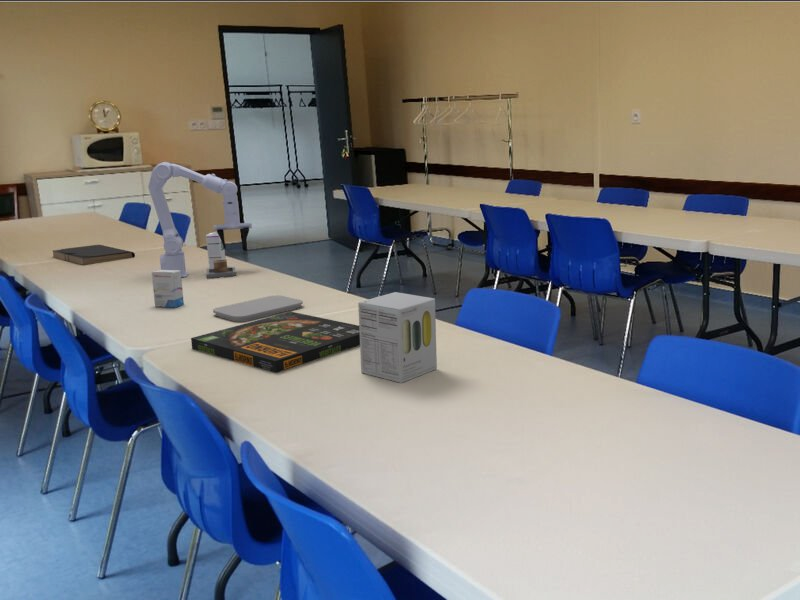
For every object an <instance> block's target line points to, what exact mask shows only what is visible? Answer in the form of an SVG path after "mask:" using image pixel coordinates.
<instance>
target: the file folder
mask: <svg viewBox="0 0 800 600" xmlns="http://www.w3.org/2000/svg"><path fill="white" fill-rule="evenodd" d="M52 254H53V256H52V257H53V259H54V258H55V259H58V260H62V261H65V262H68V263H75V264H78V265H82V266H87V265H89V266H90V265H95V264H100V263H101V264H102V263H109V262H113V261H114V262H115V261H120V260H126V259H132V258H135V256H136V255H135V252H134V251H130V250H125V249H120V248H117V247H112V246H107V245H104V244H92V245H85V246H77V247H76V246H75V247H68V248H61V249H54V250H52Z"/></svg>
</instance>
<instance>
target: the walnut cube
mask: <svg viewBox="0 0 800 600" xmlns="http://www.w3.org/2000/svg"><path fill="white" fill-rule="evenodd" d="M213 262H214V273H222V272H228V270H227V267H228V261H227V259H226V260H213Z"/></svg>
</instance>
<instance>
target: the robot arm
mask: <svg viewBox="0 0 800 600" xmlns="http://www.w3.org/2000/svg"><path fill="white" fill-rule="evenodd" d="M171 177H172V178H180V177H182V178H185V179H187V180H191V181H194V182H197V183H200V184H201V185H202V187H203V188H204V189H206V190H207V191H208V190H209V191H211V192H214V193H217V194H221V195H222V197H223V202H222V203H223V217H224V224H223V223H222V224H217V225H216V224H215V225H213V232H217V233H218V235H219V237H220V239H221V241H222V243H223V247H224V249H225V250H226V241H225V232H224V231H227V230H240V229H241V230H242V237H243V241H242V244H243V248H246V246H247V245H246V244H247V239H248V235H249V232H250V229H252V228H253V226H252V224H253V223H252V222H245V223H244V222H241V221H240V208H239V206H240V205H239V200H238V195H237V193H238V186H237V184H236V183H234V182H233V181H232V180H231V181H230V180H229V181H228V179H226V178H224V179H223V178H221V177H218V176H216V174H215V173H211V174H210V173H207V174H206V175H204V174H202V173H199V172H196V171H195V170H193V169H190V168H187V167H185V166H182V165H179V164H177V163H171V162H168V161H163V162H161V163H158V164H156V165H155V166H154V167H153V169H152V171H151V175H150V179H149V181H148V182H149V183H148V191H149V193H150V194H149V195H150V197H151V199H152V200H151V201H152V203H153V207H154V208H155V209H154V210H155V212H156V215H157V218H158V221H159V224H160V228H161V232H162V237H163V250H164V254H160V255H159V263H160V270H180V271H181V278H187V277H188V272H187V271H186V269H187V268H186V259H185V251H184V250H183V249H182V248H183V246H184V239H183V238H182V237H181V236H180V234H179V232H178V230H177V229H176V226H175V223H174V220H173V217H172V214H171V211H170V208H169V205H168V202H167V199H166V196H165V193H164V189H163V188H164V187H165V184H166V183H167V181H169V179H171Z"/></svg>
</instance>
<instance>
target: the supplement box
mask: <svg viewBox="0 0 800 600" xmlns="http://www.w3.org/2000/svg"><path fill="white" fill-rule="evenodd" d="M357 304H358V306H357V307H358V326H359V331H360V345H359V347H360V348H359V353H360V372H361V373H362V374H366V375H369V376H373V377H378V378H381V379H385V380H388V381H392V382H396V383H399V384H402V383H405V382H407V381H410V380H413V379H414V378H415V379H416V378H417V377H419V376H422V375H425V374H428V373H430V372H433V371H435V370H437V368H438V364H437V363H438V362H437V328H436V327H437V323H436V322H437V321H436V298H434V297H428V296H421V295H415V294H410V293H403V292H397V291H394V292H390V293H386V294H384V295H379V296H375V297H373V298H369V299H366V300H365V299H364V300H362V301H359V302H357Z"/></svg>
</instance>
